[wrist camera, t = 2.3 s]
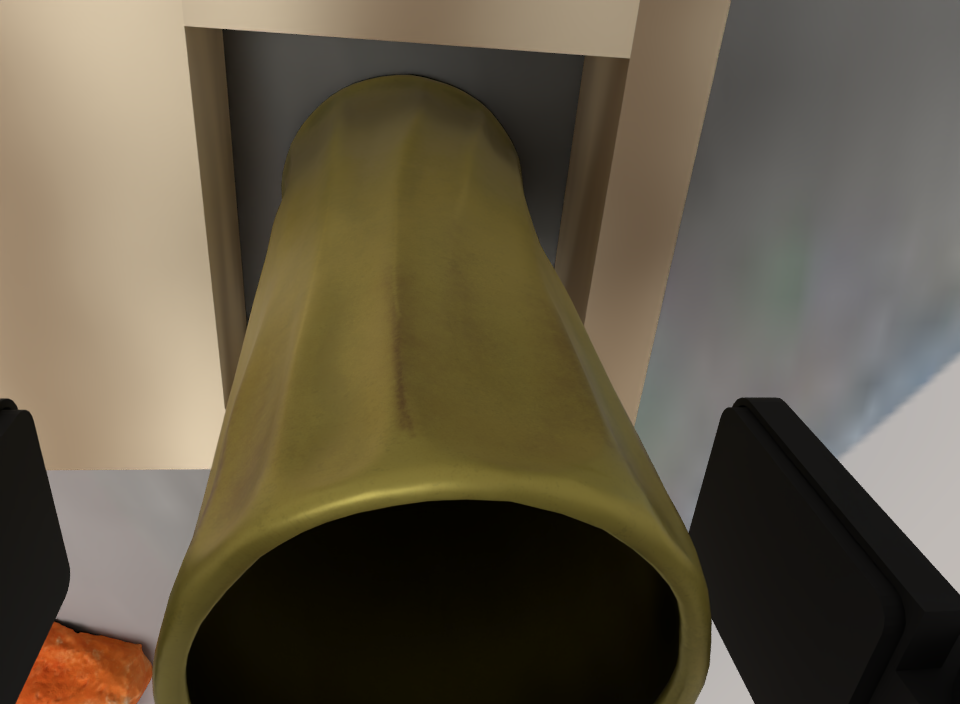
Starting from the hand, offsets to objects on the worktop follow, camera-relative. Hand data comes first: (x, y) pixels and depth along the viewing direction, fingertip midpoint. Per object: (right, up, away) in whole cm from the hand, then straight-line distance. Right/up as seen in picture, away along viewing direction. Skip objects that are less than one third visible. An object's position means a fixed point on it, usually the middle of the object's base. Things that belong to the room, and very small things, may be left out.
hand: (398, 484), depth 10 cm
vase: (-1, +6, +9) cm, 11 cm away
